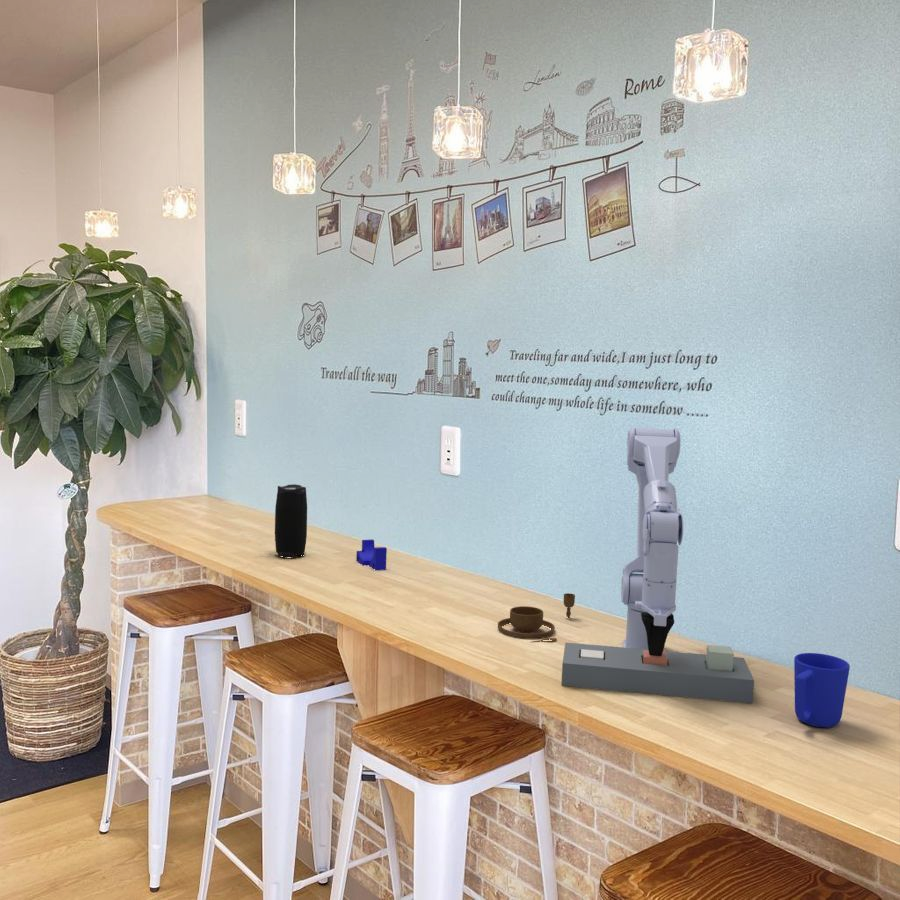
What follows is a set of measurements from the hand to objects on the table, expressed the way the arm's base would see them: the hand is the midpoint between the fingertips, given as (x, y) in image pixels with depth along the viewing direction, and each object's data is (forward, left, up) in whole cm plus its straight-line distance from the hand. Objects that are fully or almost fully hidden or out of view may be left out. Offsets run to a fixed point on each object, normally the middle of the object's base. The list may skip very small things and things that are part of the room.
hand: (655, 654), depth 160 cm
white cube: (0, -11, -5) cm, 12 cm away
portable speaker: (-77, -95, -5) cm, 122 cm away
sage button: (0, +11, -2) cm, 11 cm away
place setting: (-27, -21, -6) cm, 35 cm away
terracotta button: (0, 0, -4) cm, 4 cm away
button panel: (0, 0, -5) cm, 5 cm away
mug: (+13, +24, -5) cm, 28 cm away
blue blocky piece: (-73, -71, -6) cm, 102 cm away
